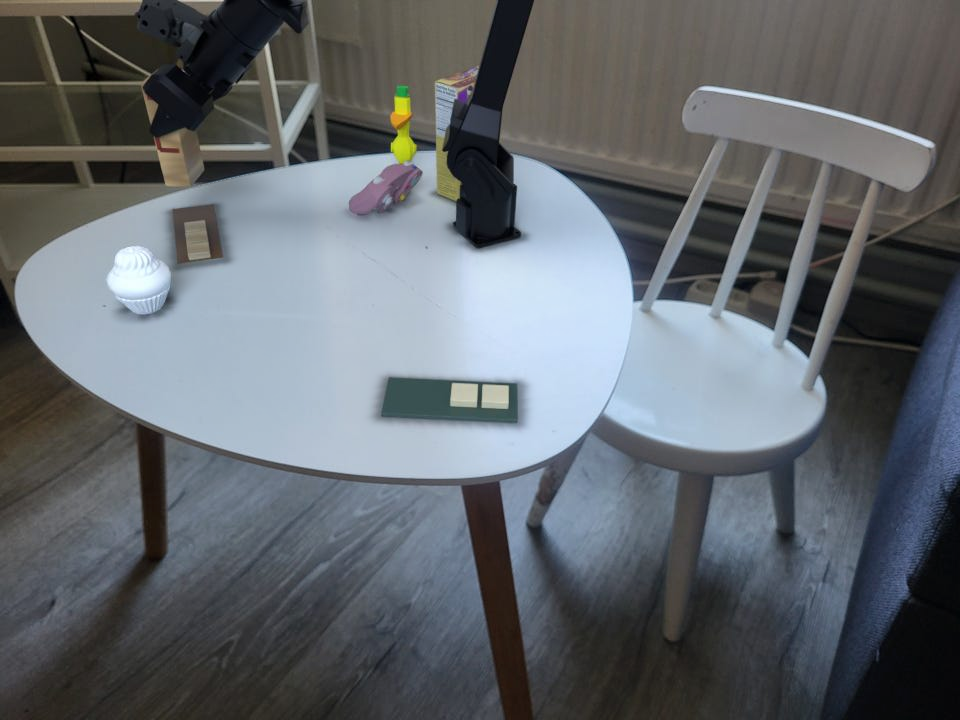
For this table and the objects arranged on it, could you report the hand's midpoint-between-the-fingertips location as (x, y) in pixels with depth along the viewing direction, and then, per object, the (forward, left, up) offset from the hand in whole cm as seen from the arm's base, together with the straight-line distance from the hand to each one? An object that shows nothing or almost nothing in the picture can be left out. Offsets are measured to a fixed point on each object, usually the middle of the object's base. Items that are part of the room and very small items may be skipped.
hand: (161, 125), depth 86 cm
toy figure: (-30, 0, -12) cm, 33 cm away
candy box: (-36, +8, -12) cm, 39 cm away
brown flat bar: (0, +5, -12) cm, 13 cm away
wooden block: (-1, +1, -6) cm, 7 cm away
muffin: (+8, +18, -12) cm, 23 cm away
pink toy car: (-24, +8, -12) cm, 28 cm away
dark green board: (-13, +46, -12) cm, 50 cm away
